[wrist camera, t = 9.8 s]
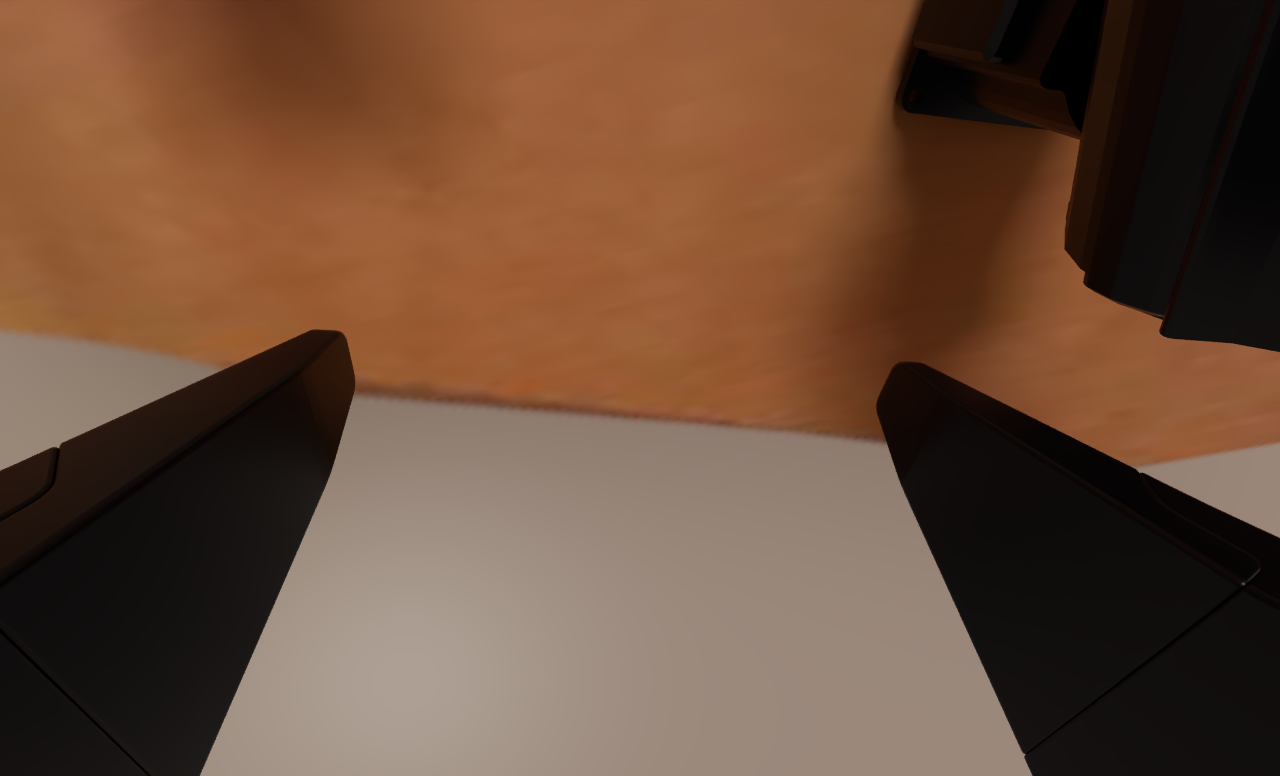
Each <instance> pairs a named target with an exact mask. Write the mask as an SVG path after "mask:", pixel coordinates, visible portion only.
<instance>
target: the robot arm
mask: <svg viewBox="0 0 1280 776" xmlns="http://www.w3.org/2000/svg"><path fill="white" fill-rule="evenodd" d="M913 42H914V47H913V49H912V52H911V55H910V58H909V61H908V64H907V67H906V69H905V72H904V75H903V78H902V81H901V84H900V86H899V89H898V92H897V97H896V101H897V105H898V106H899V108H900V109H902V110H905V111H907V112H910V113H916V114H924V115H933V116H941V117H949V118H957V119H965V120H973V121H981V122H989V123H997V124H1006V125H1014V126H1022V127H1030V128H1038V129H1046V130H1051V131H1054V132H1057V133H1060V134H1063V135H1066V136H1070V137H1073V138H1076V139H1079V140H1080V145H1079V151H1078V157H1077V163H1076V168H1075V174H1074V180H1073V186H1072V192H1071V197H1070V201H1069V204H1068V209H1067V215H1066V226H1065V250H1066V251H1067V253H1068V254H1069V255H1070V256H1071V258H1072V259H1073V260H1074V261H1075V263H1076V264H1077V265H1078V266H1079V268H1080V269H1082V270H1083V271H1085V275H1084V281H1083V283H1084V285H1085V286H1086V287H1088V288H1089V289H1091V290H1093V291H1094V292H1096V293H1098V294H1100V295H1102V296H1104V297H1106V298H1108V299H1110V300H1112V301H1114V302H1116V303H1117V304H1120V305H1123V306H1126V307H1129V308H1132V309H1135V310H1138V311H1141V312H1143V313H1146V314H1149V315H1151V316H1154V317H1157V318H1159V319H1162V320H1163V321H1162V324H1161V327H1160V330H1159V332H1160V334H1161V335H1163V336H1164V337H1167V338H1172V339H1183V340H1197V341H1210V342H1223V343H1233V344H1239V345H1244V346H1250V347H1255V348H1261V349H1266V350H1271V351H1277V352H1280V0H925V3H924V6H923V9H922V12H921V14H920V17H919V20H918V23H917V26H916V29H915V32H914V34H913ZM916 88H917V89H918V95H917V97H916V99H915V100H914V101H912V102H909V95H910V94H911V92H912V91H913V90H914V89H916ZM354 391H355V374H354V370H353V365H352V361H351V356H350V352H349V347H348V343H347V339H346V337H345V335H344V334H343V333H342V332H340V331H335V330H317V329H315V330H310V331H308V332H306V333H303V334H301V335H299V336H297V337H295V338H292V339H290V340H288V341H286V342H284V343H281V344H279V345H277V346H275V347H273V348H270V349H268V350H266V351H264V352H262V353H259V354H257V355H255V356H253V357H251V358H248V359H246V360H244V361H242V362H240V363H237V364H235V365H233V366H231V367H229V368H226V369H224V370H222V371H220V372H217V373H215V374H213V375H211V376H209V377H206V378H204V379H202V380H200V381H198V382H195V383H193V384H191V385H189V386H187V387H185V388H183V389H180V390H178V391H176V392H174V393H171V394H169V395H167V396H165V397H163V398H160V399H158V400H156V401H154V402H151V403H149V404H147V405H145V406H143V407H140V408H138V409H136V410H134V411H132V412H129V413H127V414H125V415H123V416H121V417H118V418H116V419H114V420H112V421H110V422H107V423H105V424H103V425H101V426H99V427H96V428H94V429H92V430H90V431H88V432H85V433H83V434H81V435H79V436H77V437H74V438H72V439H70V440H68V441H66V442H63V443H61V445H60V447H59V448H57V447H52V448H50V449H47V450H45V451H43V452H41V453H39V454H36V455H34V456H32V457H30V458H28V459H26V460H23V461H21V462H19V463H17V464H14V465H12V466H10V467H8V468H5V469H3V470H1V471H0V776H200V774H201V772H202V769H203V767H204V765H205V763H206V760H207V758H208V756H209V753H210V751H211V748H212V746H213V744H214V742H215V740H216V737H217V735H218V733H219V730H220V728H221V726H222V723H223V721H224V719H225V717H226V714H227V712H228V710H229V707H230V705H231V703H232V700H233V698H234V696H235V694H236V691H237V689H238V686H239V684H240V682H241V680H242V677H243V675H244V673H245V671H246V668H247V666H248V663H249V661H250V659H251V657H252V654H253V652H254V650H255V647H256V645H257V643H258V640H259V638H260V636H261V634H262V631H263V629H264V627H265V624H266V622H267V620H268V617H269V615H270V613H271V610H272V608H273V606H274V604H275V601H276V599H277V597H278V594H279V592H280V590H281V588H282V585H283V583H284V581H285V578H286V576H287V574H288V571H289V569H290V567H291V565H292V562H293V560H294V558H295V555H296V553H297V551H298V549H299V546H300V544H301V542H302V539H303V537H304V535H305V532H306V530H307V528H308V525H309V523H310V521H311V518H312V516H313V514H314V512H315V509H316V507H317V505H318V502H319V500H320V498H321V496H322V493H323V491H324V489H325V486H326V484H327V481H328V479H329V476H330V474H331V470H332V468H333V464H334V461H335V458H336V454H337V451H338V447H339V444H340V440H341V437H342V433H343V430H344V426H345V423H346V419H347V416H348V412H349V409H350V405H351V402H352V398H353V395H354ZM876 409H877V414H878V417H879V421H880V424H881V427H882V430H883V433H884V436H885V439H886V442H887V445H888V448H889V451H890V454H891V457H892V460H893V463H894V466H895V469H896V472H897V475H898V478H899V480H900V483H901V486H902V488H903V490H904V493H905V495H906V498H907V499H908V502H909V504H910V506H911V509H912V511H913V513H914V515H915V517H916V520H917V522H918V524H919V526H920V528H921V530H922V533H923V535H924V537H925V539H926V541H927V544H928V546H929V548H930V550H931V553H932V555H933V557H934V559H935V561H936V564H937V566H938V568H939V570H940V572H941V575H942V577H943V579H944V581H945V583H946V585H947V588H948V590H949V592H950V594H951V597H952V599H953V601H954V603H955V605H956V608H957V609H958V612H959V614H960V616H961V619H962V621H963V623H964V625H965V627H966V630H967V632H968V634H969V636H970V638H971V640H972V643H973V645H974V647H975V649H976V652H977V654H978V656H979V658H980V660H981V663H982V665H983V667H984V669H985V671H986V673H987V676H988V678H989V680H990V682H991V685H992V687H993V689H994V691H995V693H996V696H997V698H998V700H999V702H1000V704H1001V707H1002V709H1003V711H1004V713H1005V715H1006V718H1007V720H1008V722H1009V724H1010V726H1011V729H1012V731H1013V733H1014V735H1015V737H1016V740H1017V742H1018V744H1019V746H1020V748H1021V750H1022V752H1023V753H1024V754H1026V755H1025V756H1024V758H1025V760H1026V763H1027V765H1028V767H1029V769H1030V771H1031V773H1032V776H1280V538H1279V537H1277V536H1274V535H1272V534H1270V533H1268V532H1266V531H1264V530H1262V529H1259V528H1257V527H1255V526H1253V525H1251V524H1249V523H1246V522H1244V521H1242V520H1240V519H1238V518H1236V517H1233V516H1231V515H1229V514H1227V513H1225V512H1223V511H1221V510H1219V509H1216V508H1214V507H1212V506H1210V505H1208V504H1206V503H1204V502H1201V501H1199V500H1198V499H1196V498H1194V497H1192V496H1189V495H1187V494H1185V493H1183V492H1181V491H1179V490H1177V489H1175V488H1173V487H1171V486H1169V485H1167V484H1165V483H1163V482H1161V481H1159V480H1157V479H1155V478H1153V477H1151V476H1149V475H1147V474H1145V473H1139V472H1138V471H1137V470H1136V469H1135V468H1133V467H1130V466H1128V465H1126V464H1124V463H1122V462H1120V461H1118V460H1116V459H1114V458H1112V457H1110V456H1108V455H1106V454H1104V453H1102V452H1100V451H1098V450H1096V449H1094V448H1092V447H1090V446H1088V445H1086V444H1084V443H1082V442H1080V441H1078V440H1076V439H1074V438H1072V437H1070V436H1068V435H1066V434H1064V433H1062V432H1060V431H1058V430H1056V429H1054V428H1052V427H1050V426H1048V425H1046V424H1044V423H1042V422H1040V421H1038V420H1036V419H1034V418H1032V417H1030V416H1028V415H1026V414H1024V413H1022V412H1020V411H1018V410H1016V409H1014V408H1012V407H1010V406H1008V405H1006V404H1004V403H1002V402H1000V401H998V400H996V399H994V398H992V397H990V396H988V395H986V394H984V393H982V392H980V391H978V390H976V389H974V388H972V387H970V386H968V385H966V384H964V383H962V382H960V381H958V380H956V379H953V378H951V377H949V376H947V375H945V374H943V373H941V372H939V371H937V370H935V369H933V368H931V367H929V366H927V365H925V364H923V363H919V362H899V363H897V364H895V365H894V366H893V368H892V370H891V372H890V374H889V376H888V378H887V380H886V382H885V384H884V386H883V388H882V390H881V393H880V395H879V397H878V399H877V405H876Z"/></svg>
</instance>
